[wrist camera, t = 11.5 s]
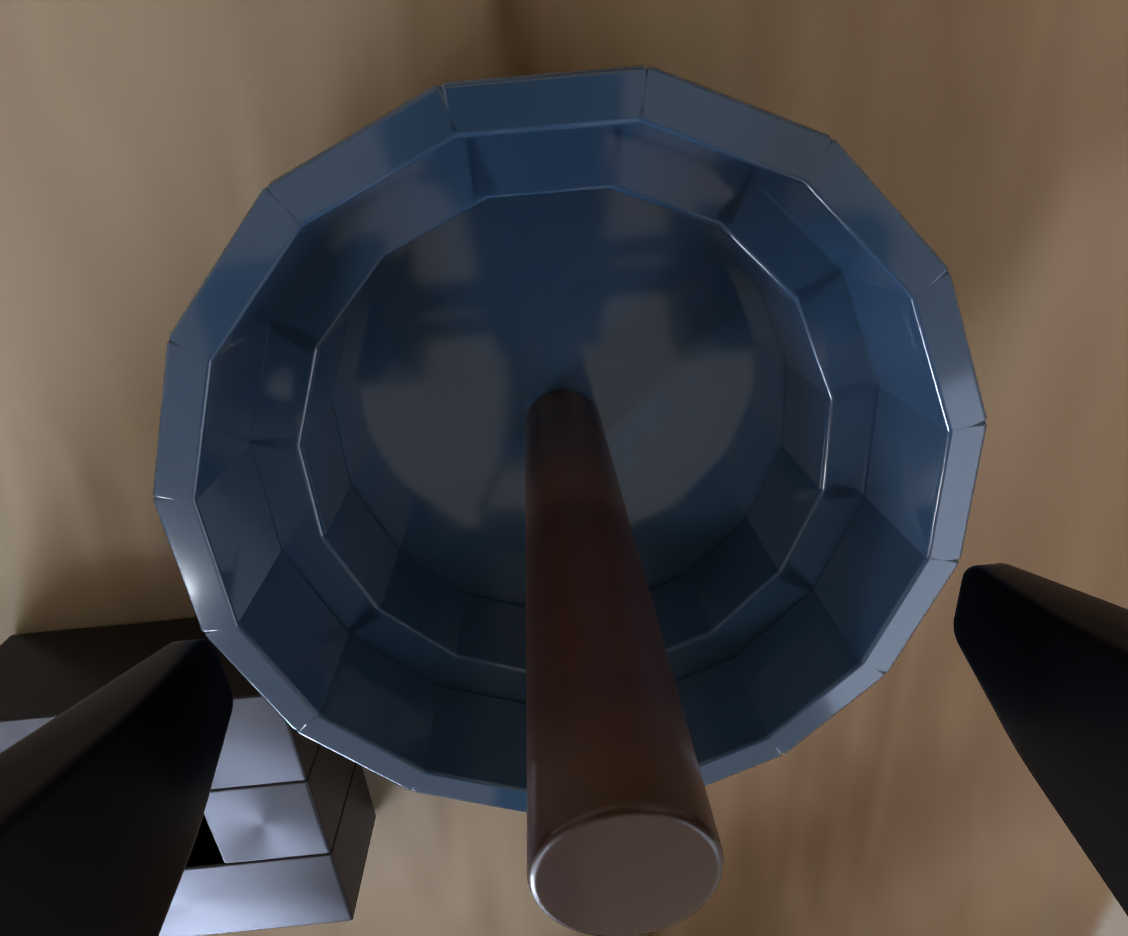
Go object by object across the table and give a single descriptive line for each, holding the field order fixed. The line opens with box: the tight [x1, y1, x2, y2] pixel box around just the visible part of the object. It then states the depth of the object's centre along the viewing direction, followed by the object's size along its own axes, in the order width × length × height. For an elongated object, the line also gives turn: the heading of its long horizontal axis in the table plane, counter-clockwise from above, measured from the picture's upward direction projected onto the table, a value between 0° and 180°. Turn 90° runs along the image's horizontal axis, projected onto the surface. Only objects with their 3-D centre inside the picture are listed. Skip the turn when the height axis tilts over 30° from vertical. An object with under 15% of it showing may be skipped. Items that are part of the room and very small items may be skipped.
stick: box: [525, 390, 724, 936], centre depth 10 cm, size 2×2×10 cm
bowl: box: [153, 65, 987, 812], centre depth 13 cm, size 12×12×5 cm
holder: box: [0, 618, 376, 936], centre depth 17 cm, size 7×7×3 cm
